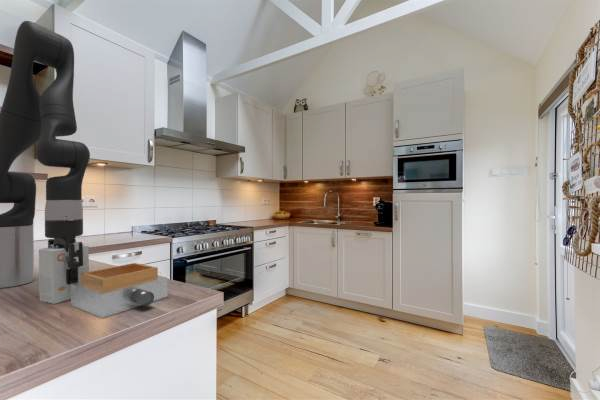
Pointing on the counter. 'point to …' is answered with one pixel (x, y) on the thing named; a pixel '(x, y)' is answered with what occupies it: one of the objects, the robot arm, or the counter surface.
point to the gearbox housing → (118, 289)
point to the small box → (57, 274)
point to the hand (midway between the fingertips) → (64, 281)
